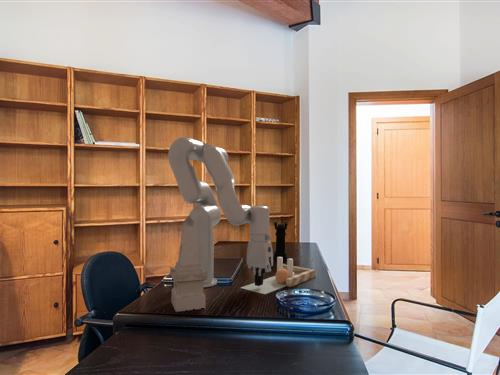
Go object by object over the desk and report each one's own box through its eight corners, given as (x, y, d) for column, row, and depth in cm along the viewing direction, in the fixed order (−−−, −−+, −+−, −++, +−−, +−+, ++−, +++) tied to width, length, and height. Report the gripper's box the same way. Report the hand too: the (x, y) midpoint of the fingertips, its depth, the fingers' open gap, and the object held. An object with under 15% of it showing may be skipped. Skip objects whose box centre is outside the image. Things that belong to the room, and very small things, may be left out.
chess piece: (287, 258, 194) (288, 222, 194) (287, 261, 186) (288, 223, 186) (273, 257, 195) (273, 221, 195) (272, 260, 187) (273, 223, 187)
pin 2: (288, 281, 148) (288, 259, 148) (286, 279, 150) (286, 258, 150) (293, 281, 148) (293, 259, 148) (291, 279, 151) (291, 258, 151)
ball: (285, 287, 146) (275, 286, 142) (280, 274, 149) (270, 273, 146) (295, 278, 143) (285, 277, 139) (289, 266, 147) (279, 265, 143)
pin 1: (278, 279, 151) (278, 258, 151) (276, 277, 153) (276, 257, 153) (283, 278, 152) (283, 257, 151) (281, 277, 154) (281, 256, 154)
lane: (265, 294, 130) (265, 294, 130) (240, 288, 137) (240, 287, 137) (310, 276, 156) (310, 275, 156) (287, 271, 164) (287, 271, 164)
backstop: (290, 287, 139) (290, 279, 139) (254, 279, 151) (254, 272, 151) (315, 276, 156) (315, 270, 156) (281, 270, 167) (281, 263, 167)
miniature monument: (169, 301, 120) (170, 214, 120) (199, 298, 124) (200, 213, 124) (174, 312, 111) (175, 217, 110) (207, 308, 114) (208, 216, 114)
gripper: (280, 238, 135) (280, 286, 135) (250, 234, 144) (249, 279, 144) (269, 241, 129) (268, 291, 129) (238, 236, 138) (237, 283, 138)
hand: (258, 285), depth 137 cm, fingers closed
